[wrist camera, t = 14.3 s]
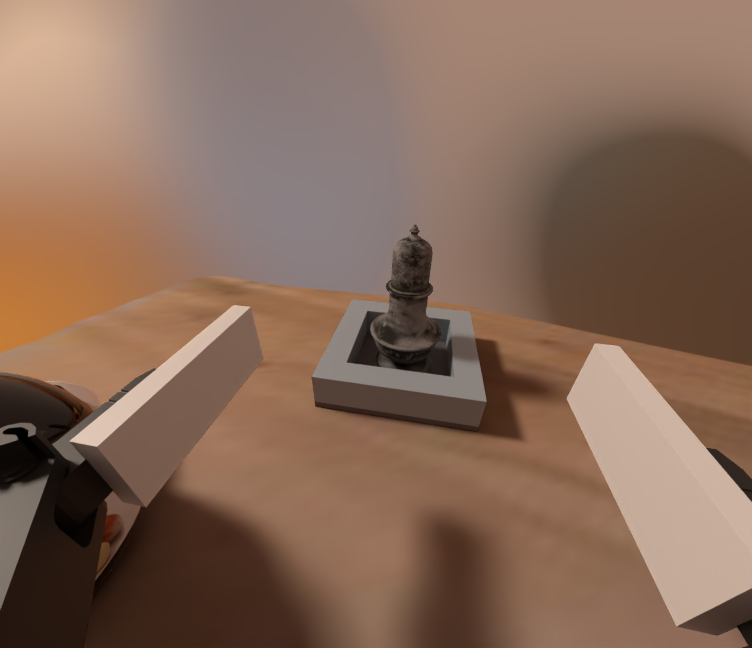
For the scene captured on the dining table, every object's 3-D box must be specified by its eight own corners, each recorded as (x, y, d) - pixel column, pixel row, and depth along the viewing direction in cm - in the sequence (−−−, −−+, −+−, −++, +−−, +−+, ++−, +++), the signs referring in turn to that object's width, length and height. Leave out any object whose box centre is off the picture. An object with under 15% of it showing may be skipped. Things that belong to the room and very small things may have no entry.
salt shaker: (437, 347, 28) (459, 218, 22) (432, 391, 23) (459, 241, 17) (378, 338, 29) (382, 212, 23) (361, 377, 25) (361, 232, 18)
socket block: (464, 336, 31) (470, 311, 29) (477, 431, 21) (486, 401, 19) (352, 323, 33) (352, 299, 31) (315, 406, 23) (311, 376, 21)
